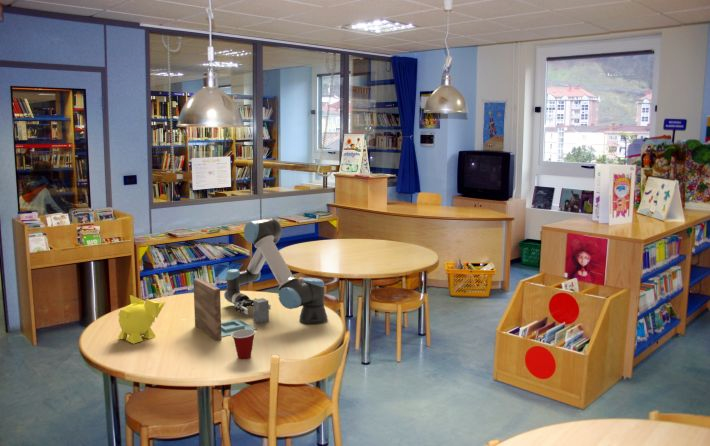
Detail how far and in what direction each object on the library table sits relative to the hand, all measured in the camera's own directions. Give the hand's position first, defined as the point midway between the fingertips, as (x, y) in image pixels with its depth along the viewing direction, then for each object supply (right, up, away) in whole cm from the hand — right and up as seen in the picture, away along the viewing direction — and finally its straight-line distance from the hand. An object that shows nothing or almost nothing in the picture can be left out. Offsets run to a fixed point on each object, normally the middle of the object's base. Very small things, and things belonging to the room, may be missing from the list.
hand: (258, 309), depth 332 cm
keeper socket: (-13, -8, -11) cm, 19 cm away
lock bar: (+1, -6, 0) cm, 7 cm away
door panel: (-23, -9, -18) cm, 31 cm away
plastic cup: (+1, -15, -50) cm, 52 cm away
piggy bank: (-56, -10, -25) cm, 62 cm away
